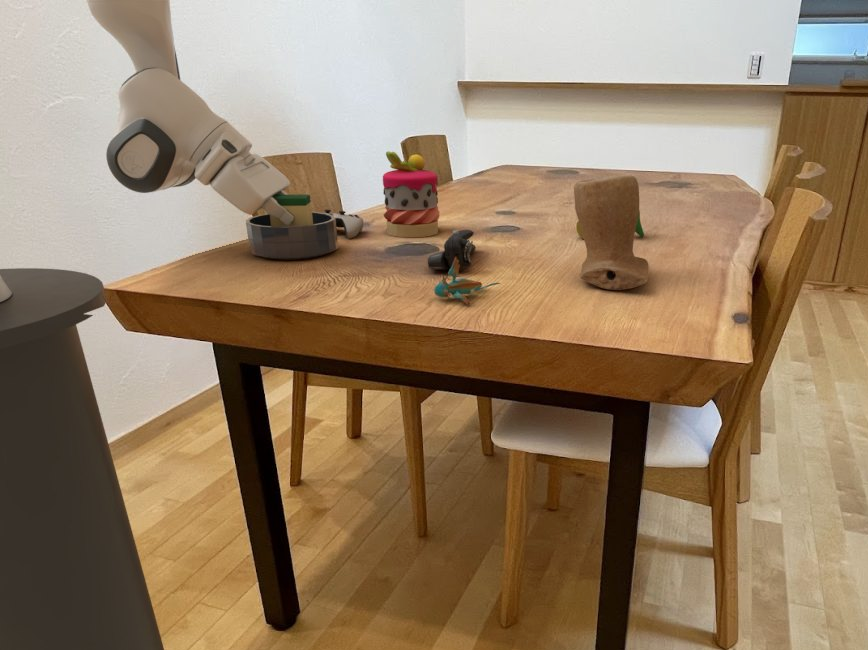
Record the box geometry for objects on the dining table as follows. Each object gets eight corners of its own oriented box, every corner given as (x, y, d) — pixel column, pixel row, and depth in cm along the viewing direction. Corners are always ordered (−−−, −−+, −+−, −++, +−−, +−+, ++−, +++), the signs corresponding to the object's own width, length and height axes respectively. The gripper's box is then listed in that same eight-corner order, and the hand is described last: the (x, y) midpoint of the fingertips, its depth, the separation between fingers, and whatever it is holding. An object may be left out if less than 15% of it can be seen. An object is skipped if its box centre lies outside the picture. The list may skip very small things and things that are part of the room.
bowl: (252, 264, 104) (247, 229, 101) (249, 245, 116) (244, 214, 113) (344, 257, 109) (341, 224, 106) (331, 240, 121) (328, 209, 118)
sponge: (274, 247, 110) (267, 198, 106) (279, 242, 113) (273, 194, 110) (310, 247, 110) (305, 198, 107) (315, 242, 114) (310, 194, 111)
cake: (418, 224, 135) (415, 147, 129) (450, 232, 128) (449, 151, 122) (374, 231, 129) (369, 150, 123) (406, 240, 122) (401, 154, 116)
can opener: (468, 277, 99) (467, 239, 96) (423, 275, 100) (421, 237, 97) (491, 251, 114) (491, 218, 112) (452, 249, 116) (451, 216, 113)
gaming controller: (297, 229, 124) (310, 198, 126) (313, 248, 129) (325, 218, 131) (350, 234, 120) (362, 202, 123) (364, 253, 126) (375, 222, 128)
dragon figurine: (448, 277, 94) (424, 267, 87) (494, 260, 92) (474, 249, 85) (459, 320, 94) (436, 314, 86) (506, 305, 92) (487, 298, 84)
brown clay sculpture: (575, 264, 107) (581, 167, 101) (650, 269, 104) (660, 170, 98) (560, 289, 93) (564, 179, 87) (645, 296, 91) (656, 183, 85)
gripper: (232, 164, 115) (296, 220, 120) (190, 179, 97) (268, 245, 102) (254, 137, 114) (318, 195, 119) (217, 147, 95) (294, 216, 100)
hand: (295, 218), depth 110 cm, fingers closed on sponge, 4 cm apart
